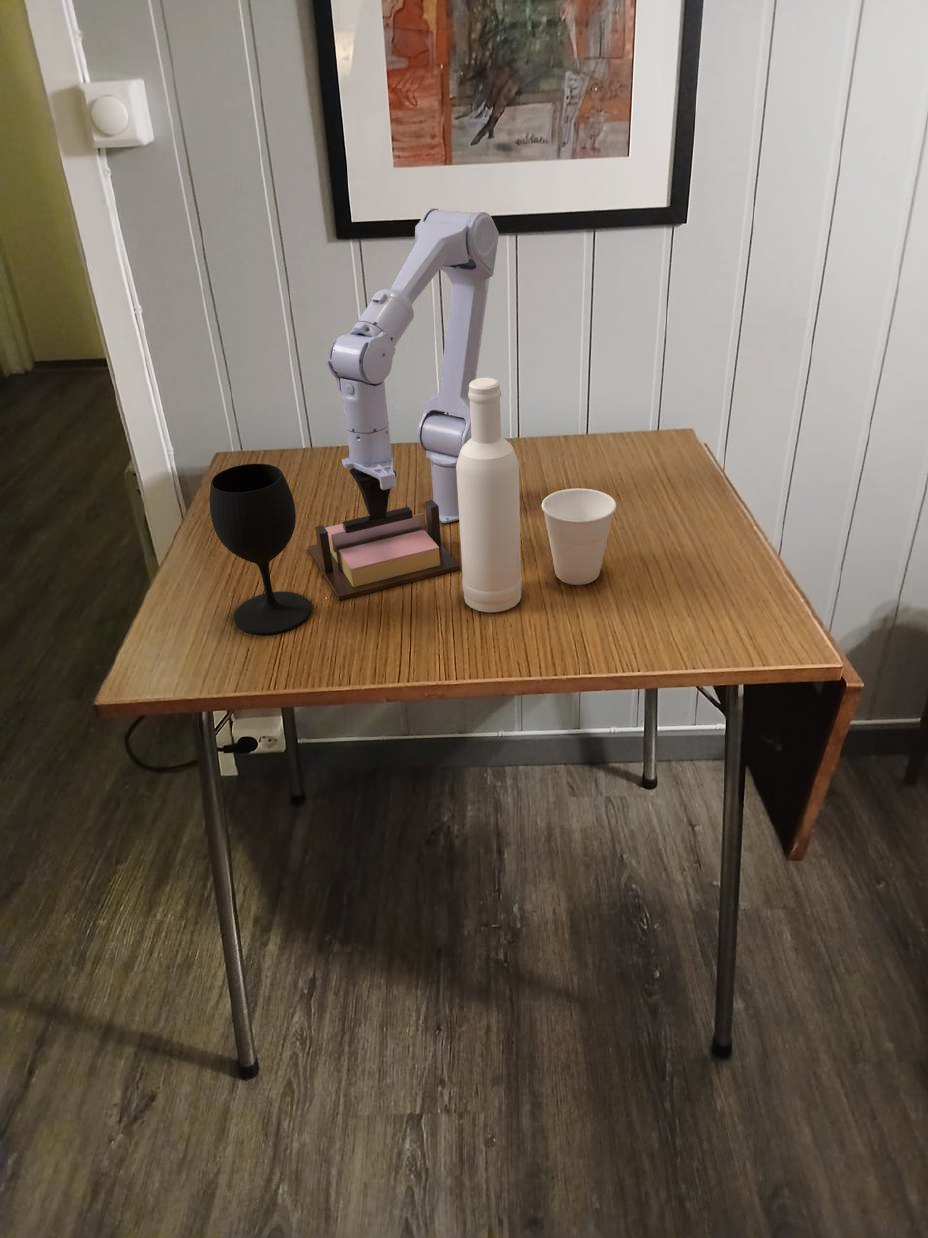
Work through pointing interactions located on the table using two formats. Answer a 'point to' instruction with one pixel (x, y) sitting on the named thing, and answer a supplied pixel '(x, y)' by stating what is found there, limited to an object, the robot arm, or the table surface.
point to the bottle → (489, 506)
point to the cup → (578, 532)
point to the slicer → (346, 590)
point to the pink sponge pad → (385, 556)
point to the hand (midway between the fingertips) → (377, 516)
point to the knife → (377, 528)
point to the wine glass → (258, 540)
